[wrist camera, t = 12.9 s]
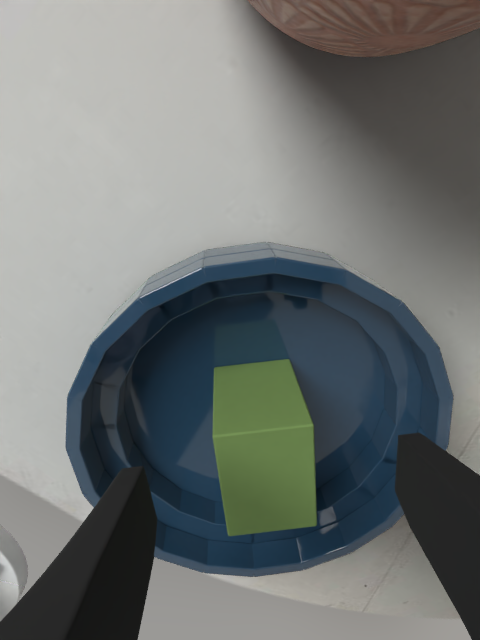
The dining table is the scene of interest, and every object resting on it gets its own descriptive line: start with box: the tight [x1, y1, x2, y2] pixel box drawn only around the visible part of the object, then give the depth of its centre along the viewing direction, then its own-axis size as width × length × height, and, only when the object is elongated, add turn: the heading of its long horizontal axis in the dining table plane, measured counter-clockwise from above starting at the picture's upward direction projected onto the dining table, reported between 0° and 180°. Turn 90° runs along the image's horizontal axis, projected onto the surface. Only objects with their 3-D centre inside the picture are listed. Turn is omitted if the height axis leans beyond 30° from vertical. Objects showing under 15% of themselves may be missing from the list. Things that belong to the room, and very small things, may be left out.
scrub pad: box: [212, 359, 317, 536], centre depth 17 cm, size 5×4×5 cm
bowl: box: [66, 242, 453, 577], centre depth 18 cm, size 16×16×4 cm
